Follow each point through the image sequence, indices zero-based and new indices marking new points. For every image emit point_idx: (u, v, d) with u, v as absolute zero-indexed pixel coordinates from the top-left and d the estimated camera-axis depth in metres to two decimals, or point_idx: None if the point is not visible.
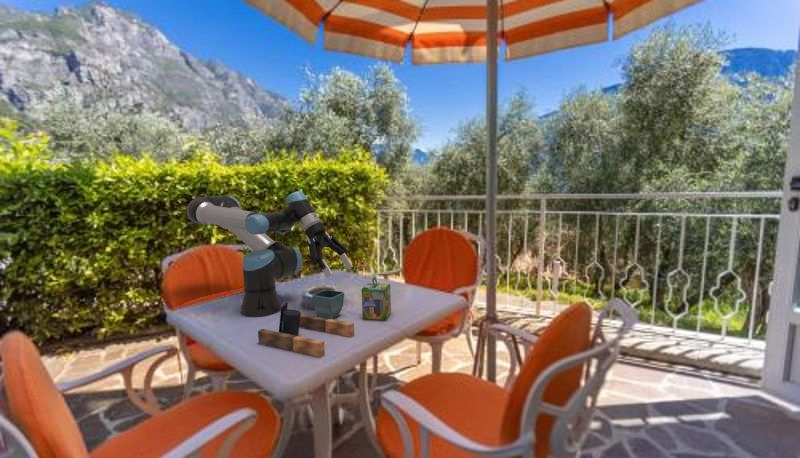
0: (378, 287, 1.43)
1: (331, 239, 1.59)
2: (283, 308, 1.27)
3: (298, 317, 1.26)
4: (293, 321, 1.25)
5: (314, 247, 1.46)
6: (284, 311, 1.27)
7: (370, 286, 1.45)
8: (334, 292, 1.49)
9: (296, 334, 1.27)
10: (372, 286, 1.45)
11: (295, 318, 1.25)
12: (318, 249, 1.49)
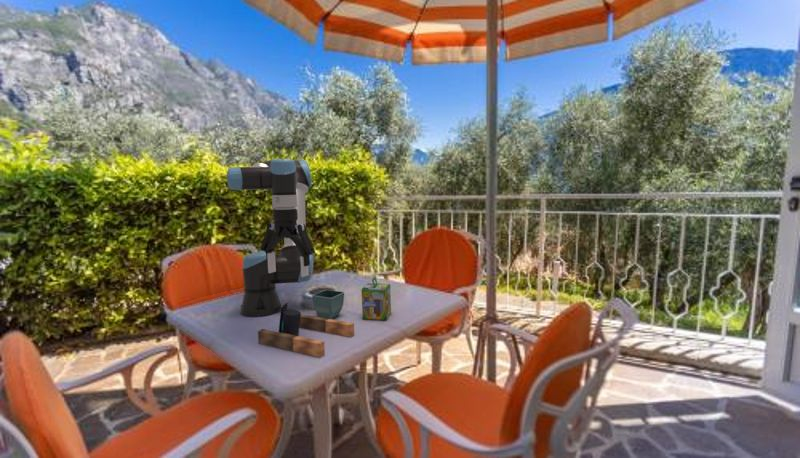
0: (378, 287, 1.43)
1: None
2: (283, 308, 1.27)
3: (298, 317, 1.26)
4: (293, 321, 1.25)
5: (265, 236, 1.27)
6: (284, 311, 1.27)
7: (370, 286, 1.45)
8: (334, 292, 1.49)
9: (296, 334, 1.27)
10: (372, 286, 1.45)
11: (295, 318, 1.25)
12: None
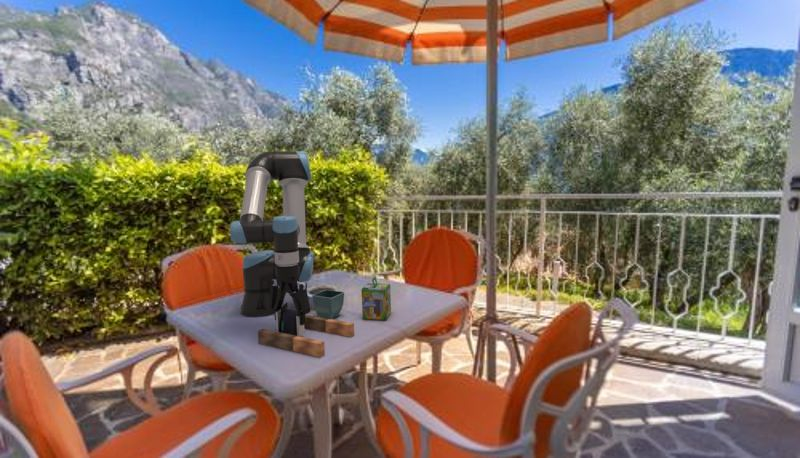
0: (378, 287, 1.43)
1: None
2: (283, 308, 1.27)
3: None
4: (293, 321, 1.25)
5: (271, 294, 1.29)
6: (284, 311, 1.27)
7: (370, 286, 1.45)
8: (333, 292, 1.49)
9: (296, 334, 1.27)
10: (372, 286, 1.45)
11: (295, 318, 1.25)
12: None
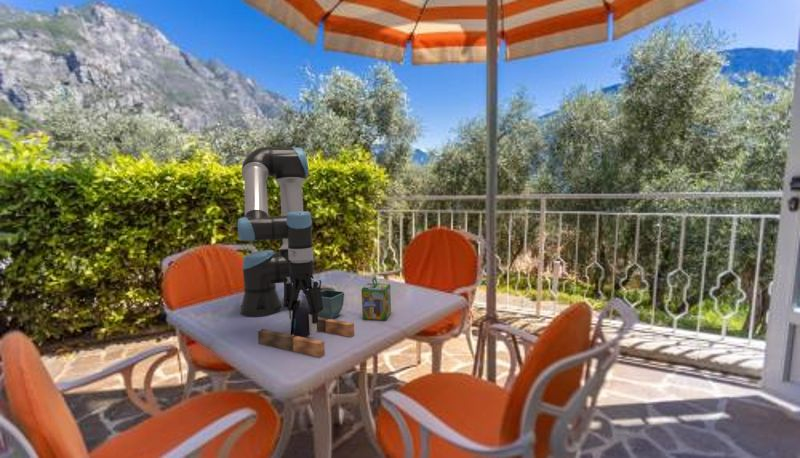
0: (378, 287, 1.43)
1: None
2: (295, 306, 1.24)
3: None
4: (306, 319, 1.22)
5: (285, 292, 1.26)
6: (296, 309, 1.24)
7: (370, 286, 1.45)
8: (334, 292, 1.49)
9: (308, 332, 1.24)
10: (372, 286, 1.45)
11: (307, 316, 1.22)
12: None
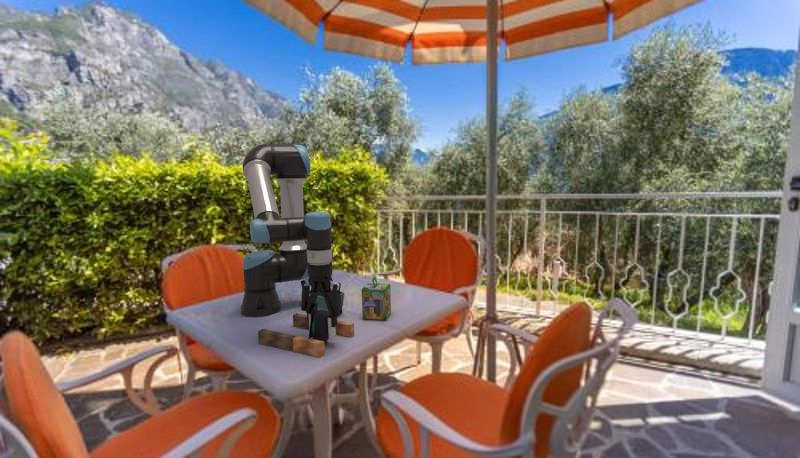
0: (378, 287, 1.43)
1: None
2: (314, 309, 1.21)
3: None
4: (325, 323, 1.19)
5: (303, 294, 1.23)
6: (315, 312, 1.21)
7: (370, 286, 1.45)
8: None
9: (327, 336, 1.21)
10: (372, 286, 1.45)
11: (326, 319, 1.19)
12: None
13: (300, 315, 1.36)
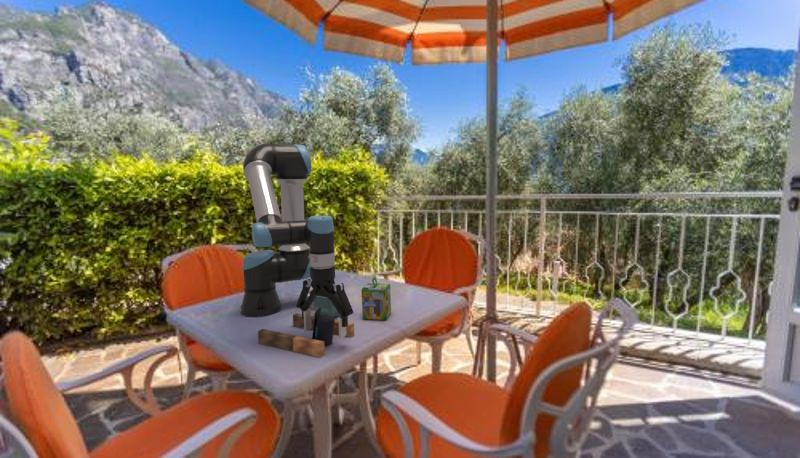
0: (378, 287, 1.43)
1: None
2: (317, 313, 1.21)
3: (332, 323, 1.20)
4: (328, 327, 1.19)
5: (301, 294, 1.23)
6: (318, 317, 1.21)
7: (370, 286, 1.45)
8: None
9: (330, 341, 1.21)
10: (372, 286, 1.45)
11: (329, 324, 1.19)
12: None
13: (300, 315, 1.36)
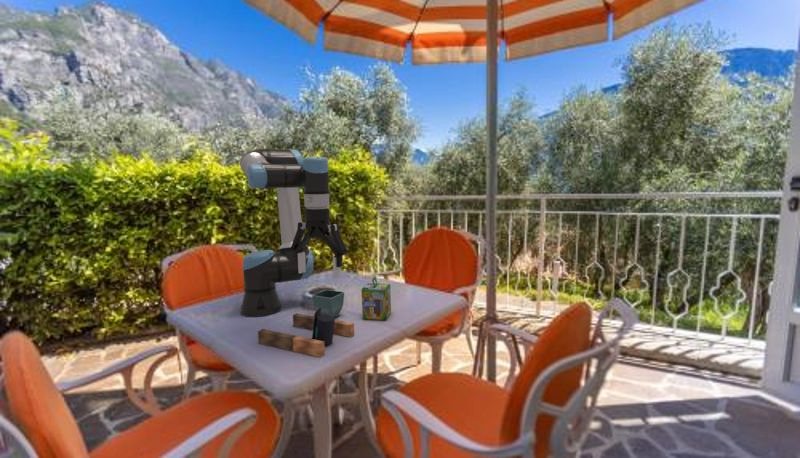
0: (378, 287, 1.43)
1: None
2: (317, 313, 1.21)
3: (332, 323, 1.20)
4: (328, 327, 1.19)
5: (296, 236, 1.24)
6: (318, 317, 1.21)
7: (370, 286, 1.45)
8: (334, 292, 1.49)
9: (330, 341, 1.21)
10: (372, 286, 1.45)
11: (329, 324, 1.19)
12: None
13: (300, 315, 1.36)
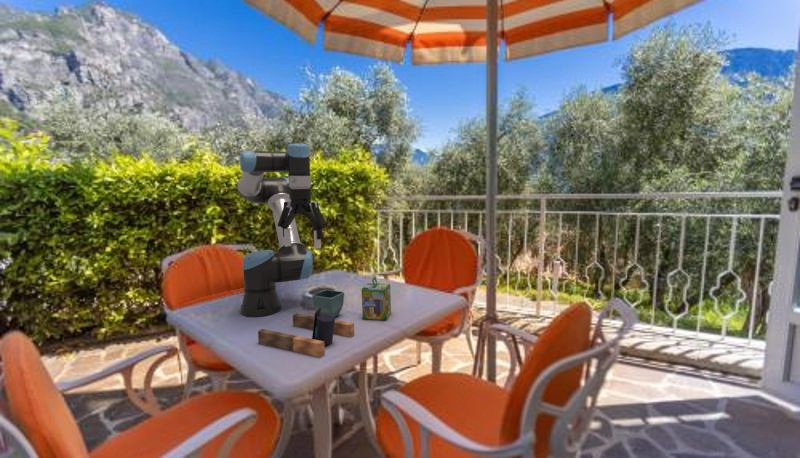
0: (378, 287, 1.43)
1: None
2: (317, 313, 1.21)
3: (332, 323, 1.20)
4: (328, 327, 1.19)
5: (282, 213, 1.42)
6: (318, 317, 1.21)
7: (370, 286, 1.45)
8: (334, 292, 1.49)
9: (330, 341, 1.21)
10: (372, 286, 1.45)
11: (329, 324, 1.19)
12: None
13: (300, 315, 1.36)
